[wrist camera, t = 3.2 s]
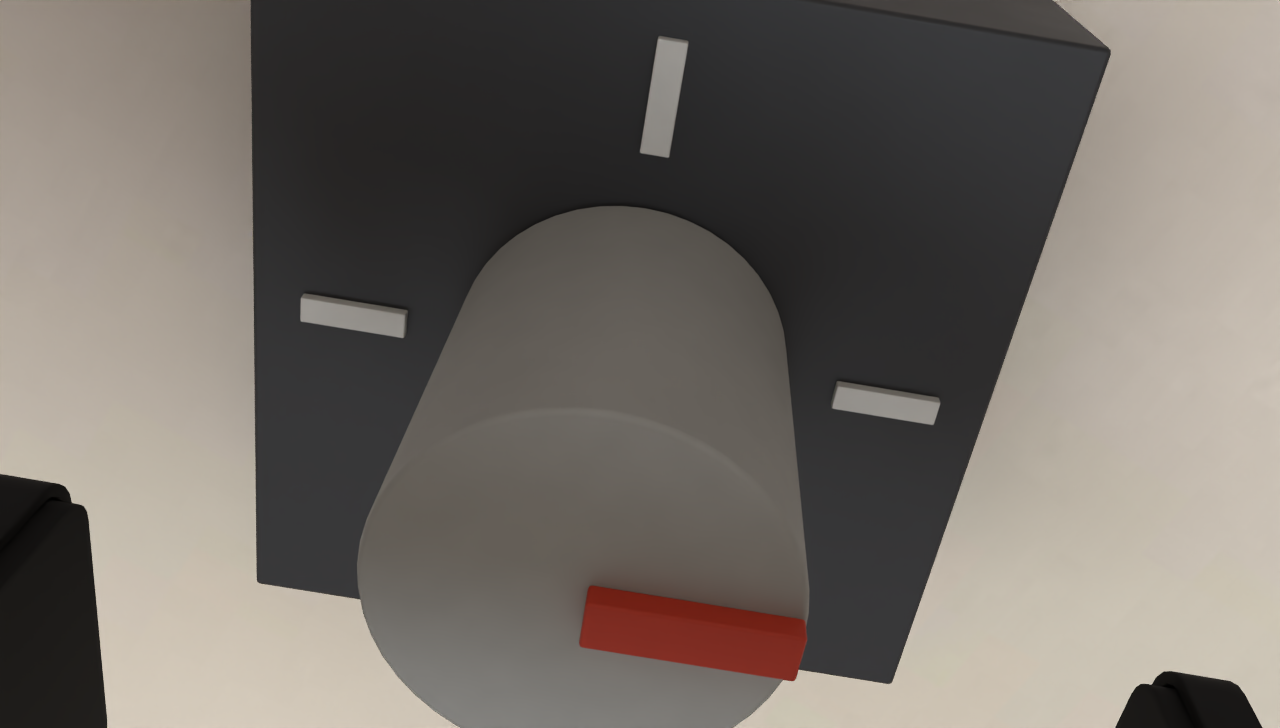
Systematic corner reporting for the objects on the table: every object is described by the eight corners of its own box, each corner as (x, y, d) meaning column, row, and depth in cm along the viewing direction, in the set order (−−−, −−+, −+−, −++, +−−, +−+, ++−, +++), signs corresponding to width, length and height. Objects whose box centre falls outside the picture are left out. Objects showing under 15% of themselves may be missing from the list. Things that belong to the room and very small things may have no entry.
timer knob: (446, 466, 17) (340, 752, 12) (471, 177, 15) (354, 389, 10) (750, 516, 17) (759, 819, 12) (818, 235, 15) (862, 473, 10)
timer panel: (315, 474, 21) (252, 591, 18) (326, -129, 16) (242, -97, 13) (871, 564, 21) (893, 693, 18) (1050, -5, 16) (1118, 53, 13)
